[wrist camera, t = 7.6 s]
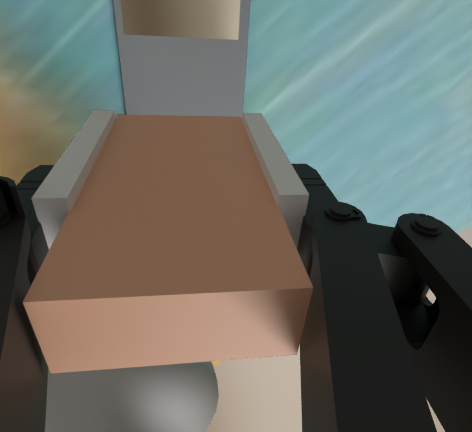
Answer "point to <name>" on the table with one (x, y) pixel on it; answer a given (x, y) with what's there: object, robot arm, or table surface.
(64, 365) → the domino
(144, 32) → the domino
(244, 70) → the domino board
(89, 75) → the table surface
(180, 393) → the vase
